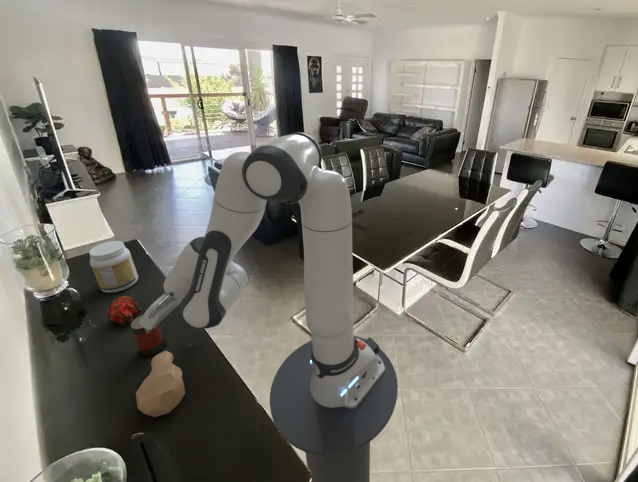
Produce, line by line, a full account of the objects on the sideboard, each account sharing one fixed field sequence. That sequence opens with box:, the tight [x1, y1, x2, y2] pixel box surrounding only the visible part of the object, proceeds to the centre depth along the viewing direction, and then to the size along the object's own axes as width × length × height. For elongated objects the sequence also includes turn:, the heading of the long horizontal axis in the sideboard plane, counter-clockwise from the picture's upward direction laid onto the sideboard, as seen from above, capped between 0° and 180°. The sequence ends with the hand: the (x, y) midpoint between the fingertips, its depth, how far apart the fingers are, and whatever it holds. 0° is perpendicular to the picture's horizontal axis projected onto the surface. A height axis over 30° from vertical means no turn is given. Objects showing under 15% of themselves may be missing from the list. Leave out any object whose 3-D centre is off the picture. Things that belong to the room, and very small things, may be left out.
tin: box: [130, 314, 165, 357], centre depth 97 cm, size 6×6×11 cm
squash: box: [135, 350, 186, 418], centre depth 86 cm, size 11×20×9 cm, turn 35°
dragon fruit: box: [106, 295, 142, 326], centre depth 109 cm, size 8×8×12 cm
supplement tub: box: [89, 240, 139, 294], centre depth 124 cm, size 12×12×17 cm
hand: (166, 311), depth 91 cm, fingers open, 8 cm apart
